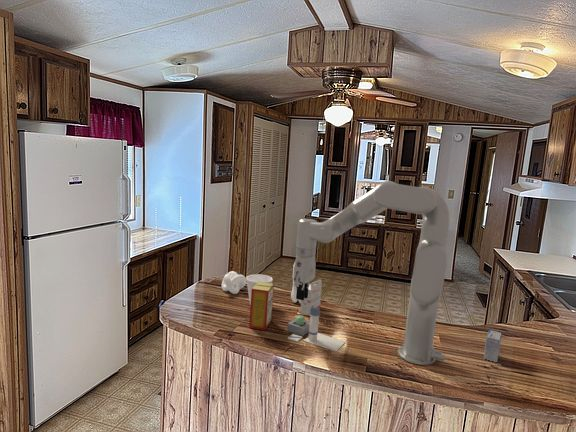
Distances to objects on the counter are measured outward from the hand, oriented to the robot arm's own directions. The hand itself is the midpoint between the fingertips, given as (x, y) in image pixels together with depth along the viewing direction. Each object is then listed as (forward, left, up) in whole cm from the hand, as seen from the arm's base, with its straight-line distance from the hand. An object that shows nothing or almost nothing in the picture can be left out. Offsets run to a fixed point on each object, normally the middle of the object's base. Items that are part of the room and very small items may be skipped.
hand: (301, 298), depth 152 cm
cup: (+27, -12, -13) cm, 32 cm away
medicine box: (-66, -24, -13) cm, 72 cm away
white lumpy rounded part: (+47, -18, -13) cm, 52 cm away
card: (-2, +7, -13) cm, 15 cm away
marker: (-8, +4, -13) cm, 16 cm away
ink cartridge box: (+5, -20, -13) cm, 24 cm away
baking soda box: (+15, +4, -13) cm, 21 cm away
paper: (-12, +2, -13) cm, 18 cm away
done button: (0, 0, -12) cm, 12 cm away
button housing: (0, 0, -13) cm, 13 cm away
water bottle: (+15, -28, -13) cm, 34 cm away
